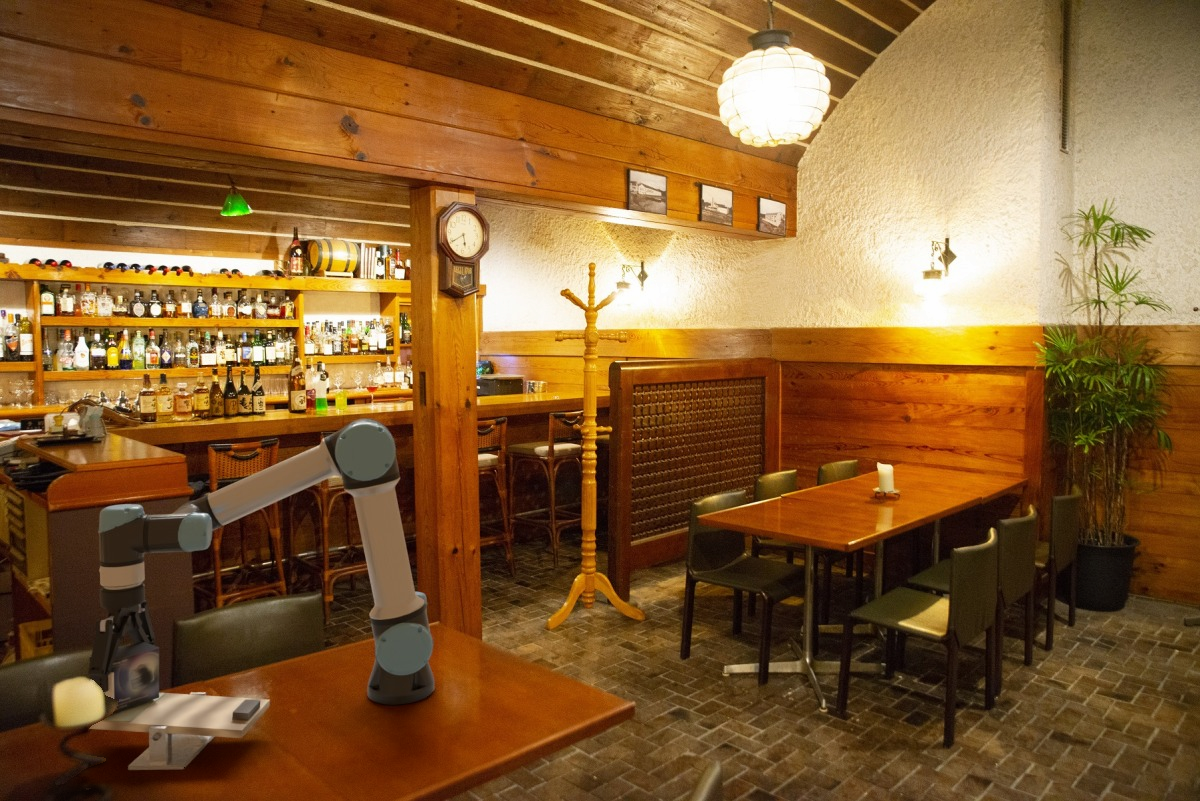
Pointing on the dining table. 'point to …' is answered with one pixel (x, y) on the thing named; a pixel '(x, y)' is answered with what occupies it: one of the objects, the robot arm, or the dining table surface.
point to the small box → (135, 674)
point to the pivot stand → (169, 749)
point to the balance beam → (189, 715)
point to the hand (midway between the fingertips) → (124, 693)
